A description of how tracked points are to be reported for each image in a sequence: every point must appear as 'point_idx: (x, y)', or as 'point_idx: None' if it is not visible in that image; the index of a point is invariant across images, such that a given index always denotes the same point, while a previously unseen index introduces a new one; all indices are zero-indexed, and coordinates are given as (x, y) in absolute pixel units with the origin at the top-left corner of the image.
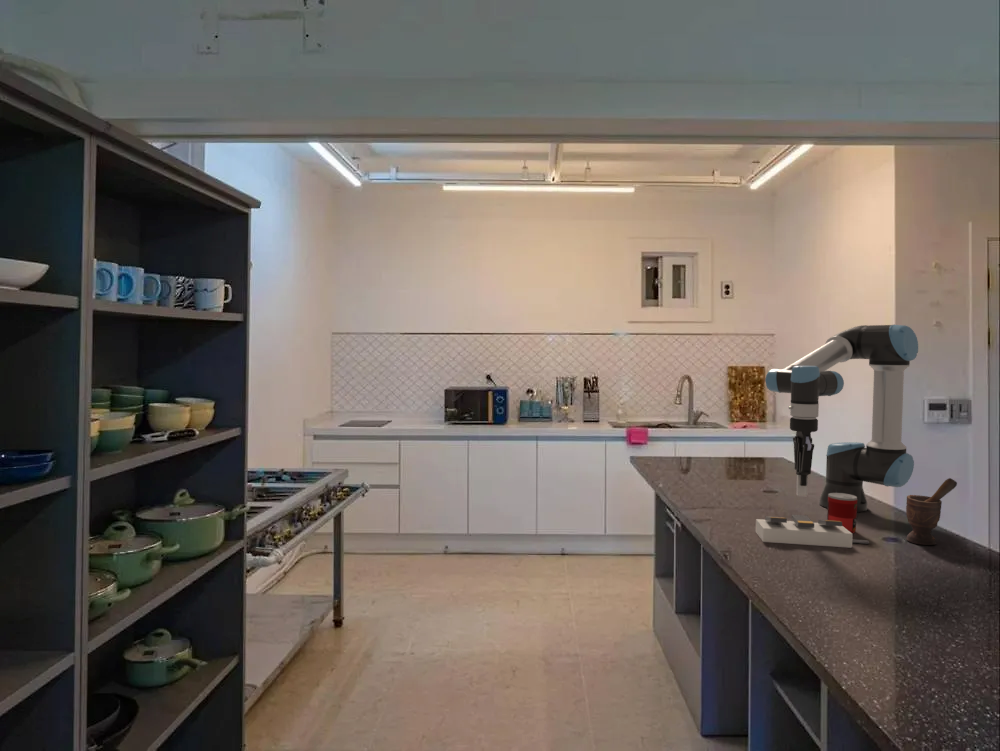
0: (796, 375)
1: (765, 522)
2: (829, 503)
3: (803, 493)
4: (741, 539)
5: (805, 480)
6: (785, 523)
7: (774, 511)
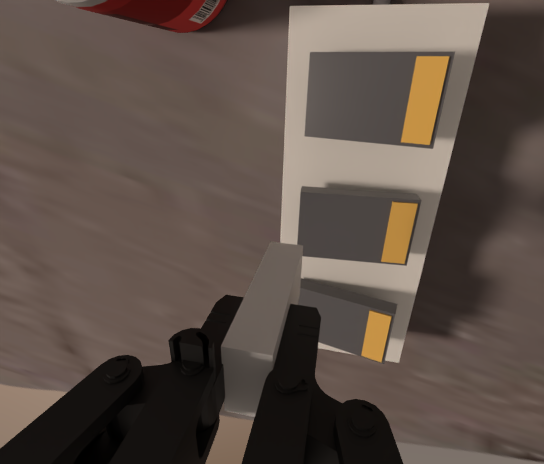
0: None
1: None
2: (124, 13)
3: (299, 277)
4: (372, 372)
5: (316, 350)
6: (321, 267)
7: (14, 167)
